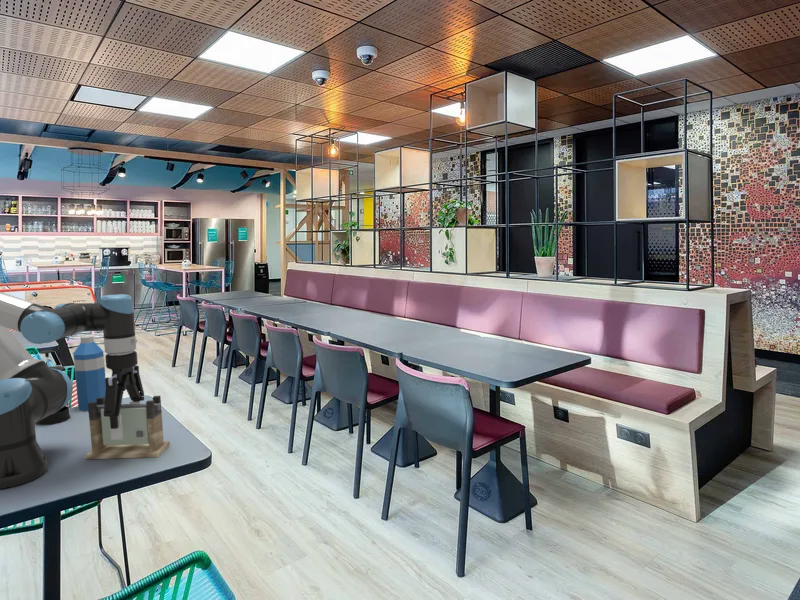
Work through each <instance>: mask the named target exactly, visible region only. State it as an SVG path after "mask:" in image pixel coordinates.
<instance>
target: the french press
mask: <svg viewBox="0 0 800 600" xmlns="http://www.w3.org/2000/svg"><path fill="white" fill-rule="evenodd" d="M52 353H55V350H54V349H53V350H51V349H49V350H42V351H39V352H38V354H40V355H41V354H42V355H43V354H44V355H45V358H46V364H47V365H48V366H49V365H50V363H49V357H50V354H52ZM49 368H50V369H51V368H52V369H56V370H61V371H63V372H64V370H65V369H66V367H65V366H61V365H60V366H59V365H58V366H57V365H54V366H49ZM69 407H70V406H69V402H68V403H67V404H66V405H65V406H64V407H63V408H61V409H60V410H59V411H57V412H56V413H54V414H51V415H49V416H47V417H45V418H43V419H42V420H40V421H38V422H36V423H35V425H38V426H50V425H57V424H62V423H63V422H66V421H68V420H70V419H71V415H70V408H69Z"/></svg>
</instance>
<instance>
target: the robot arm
mask: <svg viewBox="0 0 800 600" xmlns="http://www.w3.org/2000/svg"><path fill="white" fill-rule="evenodd" d="M135 329H136V327H135V309H134V304H133V298H132V296H131V295H129V294H126V293H120V294H118V293H117V294H108V295H107V294H106V295H102V296H101V298H100V301H99V302H93V303H92V302H87V303H85V302H78V303H76V302H68V303H59V304H57V305H56V306H55V307H54V308H50V307H46V306H44V305H41V304H37V303H34V302H32V301H29V300H27V299H26V300H25V299H23V298H20V297H17V296H14V295H11V294H8V293H5V292H2V291H0V490H2V489H1V488H4V489H8V488H7V487H9V488H12V487H16V486H19V485H23V484H25V483H29V482H31V481H33V480H35V479H38V478H39V477H41V476H42V475H44V474H45V473H46V472H47V470H48V460H47V457H46V456H45V455H44V454H43V451H42V449H41V446H40V445H39V443H38V441H37V436H36V422H38V421H40V420H42V419H43V418H45V417H47V416H49V415H51V414H54V413H56V412H57V411H59V410H60V409H61V408H63V407H64V406H67V403H68V404H69V402H70V400H71V398H72V394H73V383H72V380H71V378H70V377H69V375H67V374H66V373H65V371H64V370H63V371H61V370H56V369H52V368H51V369H50V368H49V367H50V366H48V365H47V362H46V361H44V359H36V358H34V357H33V356H32V355H31V353H30V352H29V351H28V350H27V348H26V347H25V346H24V345H23V344H22V342H20V341H19V339H18V338H17V336H16V335H14V333H13V332H12V331H15V332H18V333H21V336H22V337H23V338H25V340H26V341H27V342H29V343H32V344H36V345H42V344H49V343H52V342H55V341H58V340H60V339H63V338H66V337H70V336H72V335H75V334H79V333H83V332H84V333H85V332H102V333H103V344H104V345H103V346H104V347H103V348H104V353H106V354H105V355H104V359H105V368H107V369H109V370H111V376H110V377H105V378H106V379H105V382H106V393H105V405H104V416H105V417H109V418H110V430H111V440H122V439H123V429H122V417H121V415H119V413H120V407H121V404H122V402H123V398H124V392H125V391H126V392H127V394H128V396H129V398H130V400H131V401H130V402H129V404H142V402H143V401H144V400H145V391H144V387H143V383H142V379H141V375H140V369H139V368H140V367H139V365H138V352H136V351H135V350H137V343H138V339H136V330H135ZM11 330H12V331H11ZM141 401H142V402H141Z"/></svg>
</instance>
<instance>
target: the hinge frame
mask: <svg viewBox="0 0 800 600" xmlns="http://www.w3.org/2000/svg"><path fill="white" fill-rule="evenodd" d="M161 398H162V397H161V395H154V396H152V399H151V400H147V401H145V404H146V409H147V422H148V435H149V444H133V445H103V433H102V421H101V412H97V405H105V397H98V398H96V401H97V403H96V402H89V403H88V410H89V411H88V421H89V430H90V431H89V432H90V443H91V450H90V451H88V452H87V453H86V454H84V455H85V460H94V459H95V460H99V459H100V460H101V459H102V460H103V459H105V460H106V459H107V460H108V459H130V458H131V459H133V458H136V459H137V458H141V459H143V458H159V457H160V456H161V455H162V454H164V452H165V451H166V450H167V449H168V448H169V447H170V446H171V443H170V440H169V441H168V440H165V439H164V428H163V427H164V426H163V415H162V412H163V411H162V408H161V409H160V410H159V411H155V407H154V403H161V404H162V400H161ZM169 445H170V446H169ZM168 446H169V447H168Z"/></svg>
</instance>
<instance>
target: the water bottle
mask: <svg viewBox="0 0 800 600" xmlns="http://www.w3.org/2000/svg"><path fill="white" fill-rule="evenodd" d="M79 338H80V343H79V345H77V347H76V349H75V350H74V352H73V353H72V354H73V362H74V373H75V387H76V398H77V409H78V408H79V409H78V411H79V412H89V410H88V403H89V402H96V403H97V401H96V398H98V397H105V393H106V382H105V379H106V378H107V377H106V365H105V355H104V351H103V350H104V349H102V348H101V347H100V346H99V345H98V344H97V343H96V342H95V336H94V335H83V336H80V337H79Z"/></svg>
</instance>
